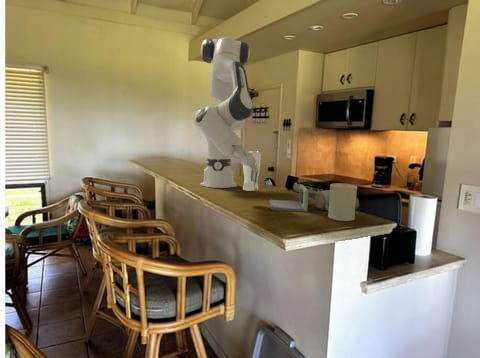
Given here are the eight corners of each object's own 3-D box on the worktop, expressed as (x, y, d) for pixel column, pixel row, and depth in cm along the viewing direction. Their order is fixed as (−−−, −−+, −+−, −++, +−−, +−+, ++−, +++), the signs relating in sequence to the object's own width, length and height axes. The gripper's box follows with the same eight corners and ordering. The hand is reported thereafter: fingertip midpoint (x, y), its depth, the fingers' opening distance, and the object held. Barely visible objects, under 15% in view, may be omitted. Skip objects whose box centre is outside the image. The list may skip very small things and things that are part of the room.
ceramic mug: (312, 207, 138) (314, 188, 136) (330, 206, 140) (332, 187, 139) (328, 214, 128) (329, 194, 127) (346, 213, 131) (348, 193, 129)
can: (332, 220, 118) (335, 186, 117) (324, 214, 128) (326, 181, 126) (359, 221, 119) (362, 186, 117) (348, 214, 128) (351, 182, 126)
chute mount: (269, 202, 144) (270, 183, 143) (301, 203, 144) (302, 184, 143) (272, 210, 131) (272, 189, 129) (307, 211, 130) (308, 190, 129)
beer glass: (244, 187, 142) (246, 150, 140) (261, 188, 140) (262, 151, 138) (239, 190, 136) (240, 151, 133) (256, 191, 134) (258, 152, 131)
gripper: (244, 140, 123) (268, 167, 128) (228, 136, 142) (249, 160, 147) (232, 152, 122) (256, 179, 127) (217, 147, 141) (239, 171, 146)
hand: (252, 169), depth 137 cm, fingers closed on beer glass, 7 cm apart
